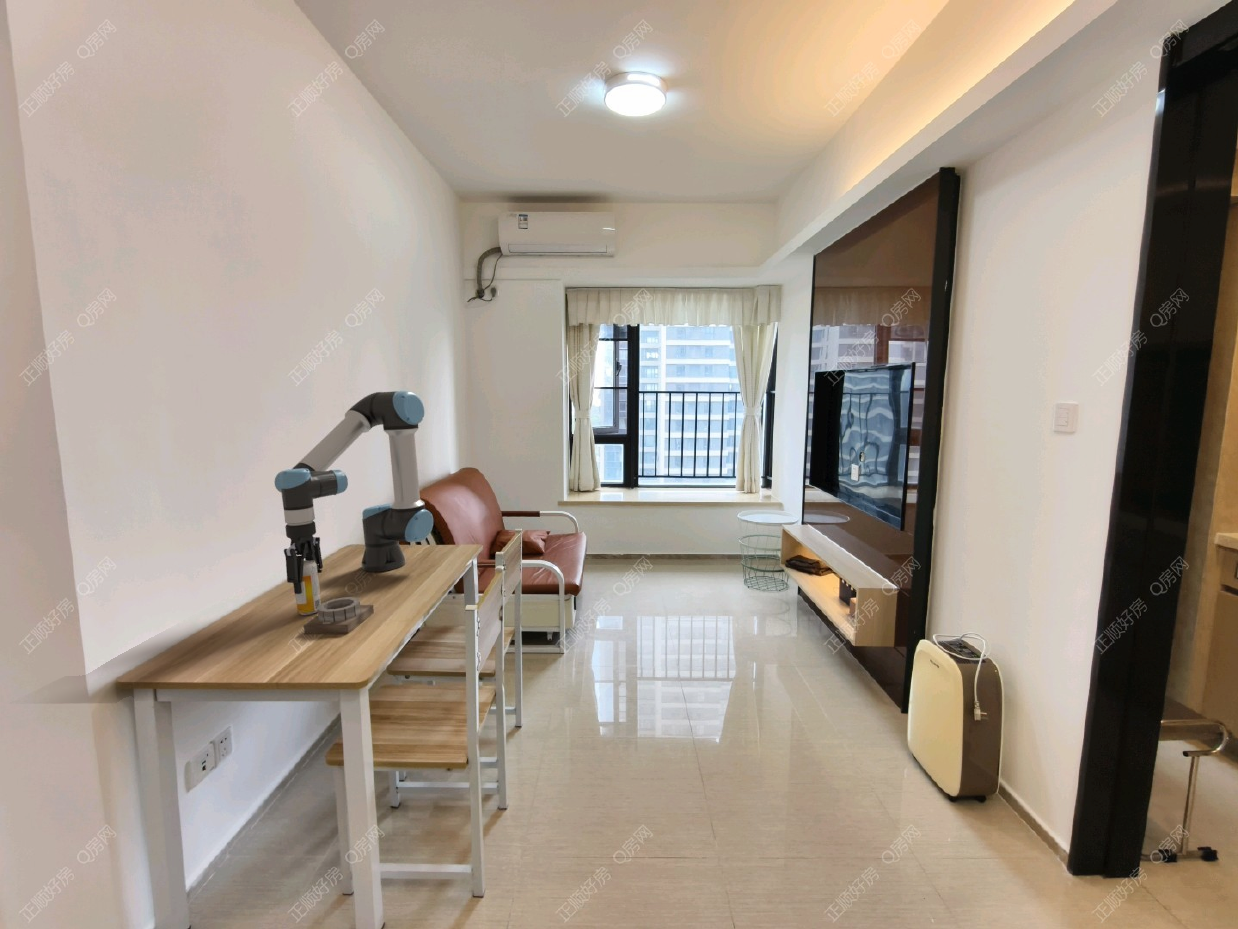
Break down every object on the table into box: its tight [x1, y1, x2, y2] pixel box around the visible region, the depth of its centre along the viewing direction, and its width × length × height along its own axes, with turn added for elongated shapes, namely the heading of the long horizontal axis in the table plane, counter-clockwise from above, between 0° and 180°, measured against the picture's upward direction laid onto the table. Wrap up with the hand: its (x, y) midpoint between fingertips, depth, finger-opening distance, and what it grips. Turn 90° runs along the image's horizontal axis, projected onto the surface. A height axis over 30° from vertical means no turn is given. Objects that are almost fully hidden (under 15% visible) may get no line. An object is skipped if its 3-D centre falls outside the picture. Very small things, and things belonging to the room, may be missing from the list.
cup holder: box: [303, 596, 374, 635], centre depth 153 cm, size 14×12×6 cm
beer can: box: [296, 559, 322, 616], centre depth 161 cm, size 6×6×15 cm
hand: (308, 599), depth 162 cm, fingers closed on beer can, 6 cm apart
